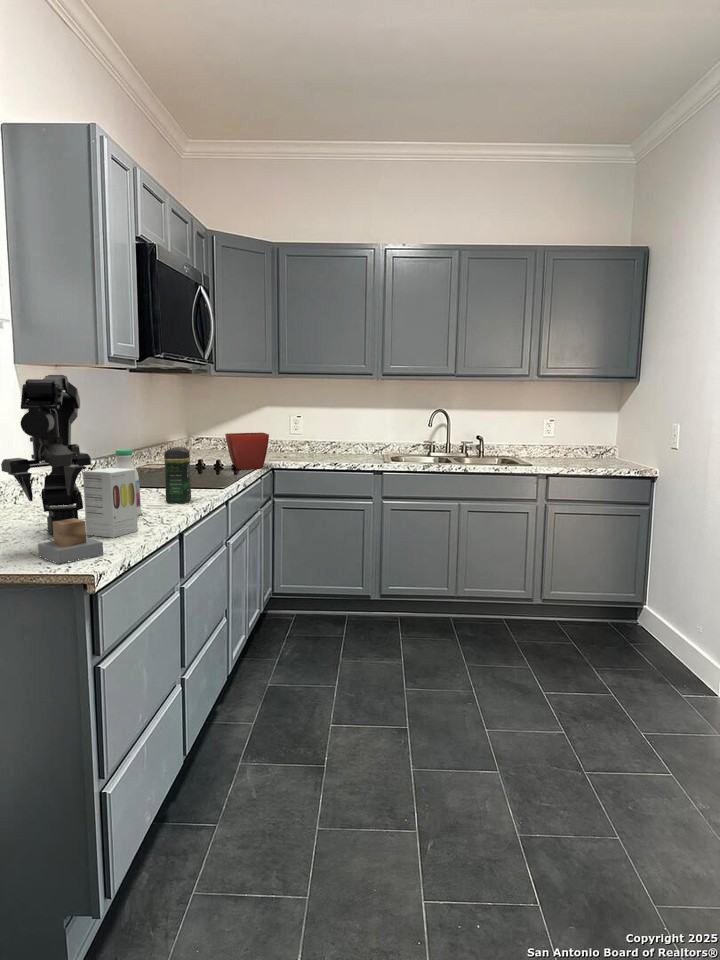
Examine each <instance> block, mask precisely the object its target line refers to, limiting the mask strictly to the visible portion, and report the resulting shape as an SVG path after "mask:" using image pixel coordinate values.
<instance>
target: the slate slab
mask: <svg viewBox="0 0 720 960" xmlns="http://www.w3.org/2000/svg"><path fill="white" fill-rule="evenodd" d="M37 550H38V557H39V556H41V557H43V558H42V559H44V558H46V559H48V560H47V561H49V560H51V561H50V562H52V561H54V562H56V563H55V564H57V563H63V564H65V563H64V562H68V561H73V560H78V559H83V558H87V559H89V558H88V557H92V558H95V557H94V556H97V557H100V556H99V555H102V556H104V542H102V541H100V540H97V539H93V538H90V537H88V536H86V543H82V544H77V545H71V546H66V547H64V546H60V545H57V544H54V540H51V541H46V542H41V543H37ZM41 557H40V558H41ZM46 559H45V560H46ZM83 560H84V559H83ZM78 561H79V560H78ZM54 562H53V563H54ZM73 562H74V561H73ZM68 563H69V562H68Z"/></svg>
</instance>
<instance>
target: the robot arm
mask: <svg viewBox="0 0 720 960" xmlns="http://www.w3.org/2000/svg"><path fill="white" fill-rule="evenodd" d="M21 388H22V389H21V397H20V399H21V401H20V409H21V410H27V412H25V413H24V415H23V416H22V417H21V419H20V428H21V430H22V431H23V433H25V435H27V436H30V437H29V441H30V442H31V443H32V450H33V454H31V457H30V458H31V459H30V460H29V459H26V458H22V457H15V458H13V457H12V458H4V459H3V460H2V462H1V464H0V465H1V472H3V473H7V475H10V476H13V477H14V479H16V481H17V483H18V484H19V486H20V488H21V489H22V491H23V493H24V494H25V496H26V498H27V499H28V501H30V502H33V497H34V495H33V489H32V482H31V478H32V472H29V470H30V469H35V468H42V467H44V468H45V467H51V472H50V473H49V474H46V475H45V477H44V485H43V488H42V489H41V501H42V508H43V512H44V513H47V512H48V516H47V517H46V518H47V521H46V523H47V531H46V532H47V534H49V535H50V534H51V535H53V523H52V522H53V521H60V520H66V519H72V518H76V519H79V511H80V510H83V509H84V502H83V496H82V492H81V491H80V490H79V487H78V486H77V483H76V482H77V479H78V476H79V474H80V473H81V472H83V470H85V469H87V466H92V458H91V456H90V454H88V453H86V452H81V451H80V445H79V444H77V443H72V425H73V424H74V423H73V422H74V421H76V419H77V418H78V415H79V414H78V411H79V409H81V398H80V394H79V391H78V388H77V387H76V386H74V385H73V384H72V383H71V382H70V381H69V379H68V377H67V375H64V374H48V375H45V376H44V378H42V379H41V378H39V379H38V378H37V379H34V378H31V379H29V378H27V379H26V380H25V381H24V383H23V384H22V387H21Z"/></svg>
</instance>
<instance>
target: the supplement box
mask: <svg viewBox="0 0 720 960" xmlns="http://www.w3.org/2000/svg"><path fill="white" fill-rule="evenodd" d="M82 481H83V497H84V498H83V499H84V514H85V527H86V536H93V535H94V536H96V537H103V538H112V539H113V538H117V537H121V536H125V535H127V534H132V533H136V532H138V531H139V530H138V529H139V527H138V516H137V503H136V482H135V469H122V468H115V467H106V468H100V469H99V468H98V469H92V470H84V471H83V470H82ZM94 536H93V537H94Z"/></svg>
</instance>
